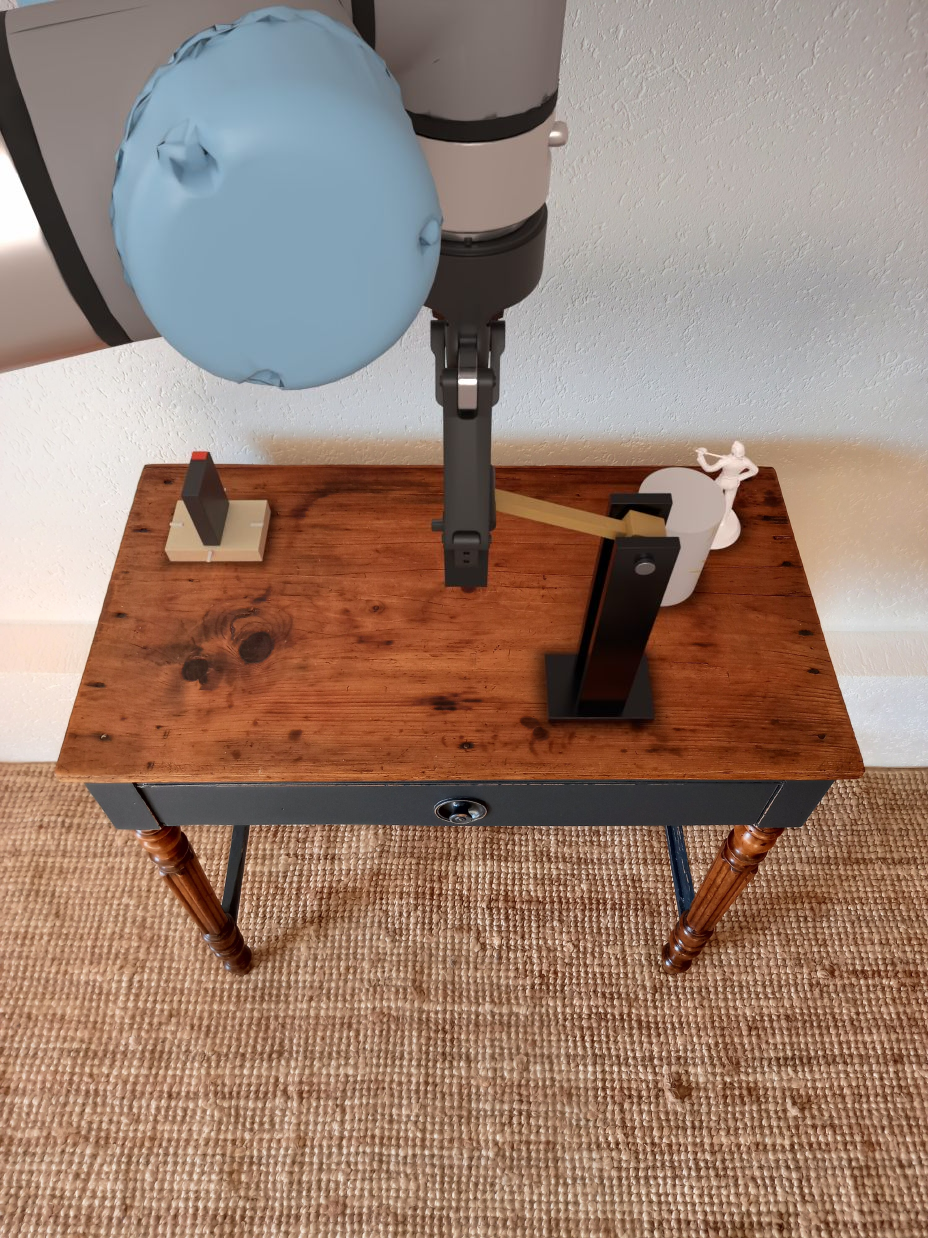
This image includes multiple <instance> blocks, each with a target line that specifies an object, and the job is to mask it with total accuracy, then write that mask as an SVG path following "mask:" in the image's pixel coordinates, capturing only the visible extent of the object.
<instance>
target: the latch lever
mask: <svg viewBox="0 0 928 1238" xmlns="http://www.w3.org/2000/svg"><path fill="white" fill-rule="evenodd" d="M497 512H498V513H503V514H507V515H511V516H515V517H519V518H524V519H527V520H532V521H536V522H539V523H543V524H549V525H552V526H555V527H556V526H557V527H561V528H563V529H564V528H565V529H568V530H573V531H577V532H580V533H585V534H589V535H593V536H597V537H600V538H601V537H605V538H609V539H613V540H615V538H616V537H667V534H666V528H665V522H664V519H663V518H660V517H656V516H652V515H648V514H644V513H640V512H637V511H633V510H630V511H629V512H628V513H627V514H626V515H625V517H624V518H623V519H622V520H617V519H613V518H609V517H605V515H601V514H597V513H593V512H589V511H586V510H581V509H577V508H574V507H570V506H566V505H561V504H557V503H554V502H550V501H547V500H546V501H545V500H542V499H538V498H534V497H530V496H526V495H523V494H518V493H514V492H511V491H506V490H503V489H498V488H497V487H496V467H495V466H494V465H493V464H491V474H490V517H491V526H490V533H491V532H492V531H495V530H496V528H497Z"/></svg>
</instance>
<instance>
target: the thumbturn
mask: <svg viewBox="0 0 928 1238" xmlns="http://www.w3.org/2000/svg"><path fill="white" fill-rule="evenodd" d="M180 498H181V500H183V502H184V504H185V506H186V508H187V511H188V513H189V515H190V517H191V519H192V522H193V524H194V526H195V528H196V530H197V532H198V535H199V537H200V539H201V541H202V543H203V545H204V546H220V543H221V539H222V534H223V530H224V526H225V521H226V517H227V512H228V508H229V501H228V500H229V498H228V495H227V493H225V490H224V485H223V482H222V480H221V477H220V475H219V472H218V469H217V467H216V464H215V462H214V459H213V456H212V453H211V452H210V451H207V450H193V451H192V452H191V456H190V459H189V463H188V467H187V471H186V474H185V478H184V482H183V485H182V489H181V493H180Z"/></svg>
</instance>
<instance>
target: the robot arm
mask: <svg viewBox="0 0 928 1238" xmlns="http://www.w3.org/2000/svg"><path fill="white" fill-rule="evenodd" d="M15 1H16V4H17V6H18V7H16V8H11V9H5V10H0V375H1V374H6V373H10V372H13V371H18V370H23V369H26V368H27V369H28V368H31V367H35V366H40V365H44V364H47V363H53V362H56V361H60V360H64V359H69V358H73V357H78V356H82V355H86V354H89V353H95V352H98V351H102V350H107V349H111V348H116V347H121V346H124V345H128V344H129V345H130V344H134V343H138V342H143V341H149V340H154V339H159V338H163V339H164V340H165V341H166V342H167V344H168V345H170V347H172V348H173V349H174V350H175V351H176V352H177V353H178V354H180V355H181V356H182V357H183V358H185V359H186V360H187V361H189V362H190V363H192V364H193V365H195V366H196V367H198V368H200V369H202V370H203V371H205V372H207V373H208V374H211V375H212V376H214V377H217V378H220V379H223V380H226V381H229V382H232V383H236V384H238V385H241V384H243V383H249V384H251V385H252V384H253V385H259V386H268V387H276V388H278V389H280V390H281V391H302V390H307V389H313V388H319V387H322V386H325V385H329V384H333V383H336V382H338V381H340V380H343V379H346V378H347V377H350V376H352V375H354V374H356V373H358V372H359V371H360V370H362V369H364V368H366V367H368V366H369V365H370V364H372V363H373V362H375V361H377V359H379V358H380V357H382V356H383V355H384V354H385V353H386V352H388V351H389V350H390V349H391V348H392V347H394V346H395V345H396V344H397V343H398V342H399V341H400V339H402V337H403V336H404V335H405V334H406V333H407V331H408V330H409V328H410V327H411V326H412V324H413V323H414V322H415V320H416V319H417V317H418V316H419V314H420V312H421V310H422V308H423V307H425V308H427V309H430V310H431V315H432V318H433V319H430V322H429V323H430V324H429V330H430V331H429V340H430V341H429V342H430V343H429V344H430V345H429V347H430V351H431V352H432V354H433V355H434V370H435V371H434V377H435V378H434V385H435V386H434V391H435V392H434V397H435V401H436V403H437V404H438V405H439V406H441V408H442V448H443V449H442V450H443V451H442V452H443V453H442V456H443V457H442V458H443V460H442V461H443V510H442V516H441V517H442V518H431V523H430V525H431V527H430V528H431V530H430V531H431V532H435V533H436V532H437V533H439V532H440V533H442V534H441V544H442V549H443V564H444V565H443V568H444V569H443V570H444V587H445V588H488V579H489V578H488V577H489V556H490V555H489V554H490V549H491V545H492V542H493V541H492V539H493V537H492V534H491V532H490V526H491V517H490V474H491V465H492V430H493V429H492V427H493V423H492V422H493V407H495V406H496V405H497V404H498V403H499V401H500V395H501V394H500V393H501V391H500V389H501V357H502V354H504V352H505V351H506V350H505V349H506V329H507V328H506V325H507V324H506V320H505V319H503V318H504V315H505V310H506V309H509V308H512V307H514V306H515V305H518V304H519V303H521V302H522V301H524V300H525V299H526V298H527V297H529V296H530V295H531V294H532V293H533V292H534V290H535V289H536V288H537V286H538V284H539V283H540V281H541V278H542V275H543V272H544V271H543V270H544V261H545V251H546V242H547V241H546V240H547V231H548V230H547V229H548V219H549V210H548V205H547V203H546V201H547V199H548V196H549V193H550V183H551V182H550V181H551V173H552V161H553V160H552V159H553V158H552V152H551V148H560V147H564V146H565V145H566V144H567V142H569V133H570V132H569V129H568V124H567V122H566V121H562V120H556V115H557V102H558V98H559V87H560V83H559V82H560V70H561V60H562V49H563V40H564V39H563V38H564V30H565V20H566V11H567V1H568V0H15Z"/></svg>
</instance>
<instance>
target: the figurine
mask: <svg viewBox="0 0 928 1238" xmlns="http://www.w3.org/2000/svg"><path fill="white" fill-rule="evenodd" d="M745 449H746V447H745V445H744V443H742V442H741V441H740V440H735V441H734V442H733V444H732V445H731V449H730V453H729V454H722V455H719V454H716V453H715V454H714V453H710V452H708V448H706V447H703V446H702V447H698V448H697V449H695V450H694V452H695V453H696V454H697V458H696V461H697V463H698V464H699V465H700V468H702V469H703V471H704V472H706V473H713V472H717V471H719V470H720V469H722V471H721V473H720V474H719V476H717V477H716V478H715V480H714V481H715V482H716V483H717V484H718V485H719V487H720V488H721V489H722V491H723V492H724V495H725V499H726V511H725V514H724V516H723V519H722V521H721V524H720V526H719V528H718V531H717V533H716V536H715V538H714V541H713V543H712V546H711V548H710V550H719V549H724V548H727V547H729V546H731V545H733V544H734V543H735V542H736V541H737V540H738V538H739V537H740V534H741V523H740V520H739V518H738V516H737V514H736V513H735V512H734V510H733V509H732V508H733V504H734V501H735V498H736V495H737V492H738V488H739V486H740V484H741V481H744V480H746V479H748V478H751V477H754V476H757V474H758V472H759V467H758V466H757V465H756V464H755V463H754V462H753V461H752V460H751V459H750V458H748V457H747V456H746V455H745V454H746V451H745ZM704 455H705V456H707V455H709V456H712V457H715V458H720V459H718V460H717V461H716V463H714V464H712V465H710V464H709V463H708V462H707V461H706V457H704ZM745 469H747V471H745V472H743V471H744V470H745Z"/></svg>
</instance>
